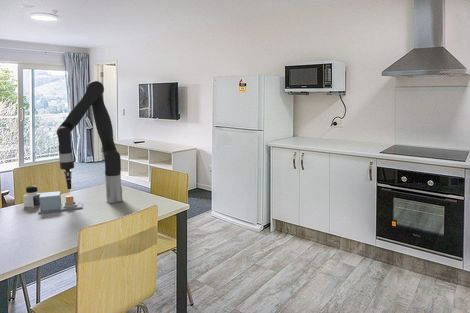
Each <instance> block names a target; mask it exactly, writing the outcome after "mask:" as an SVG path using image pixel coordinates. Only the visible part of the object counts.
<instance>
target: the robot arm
mask: <svg viewBox="0 0 470 313" xmlns="http://www.w3.org/2000/svg"><path fill="white" fill-rule="evenodd" d="M85 90H86V91H85V93H84V94H83V96H82V97H81V99H80V100H79V102H78V103H77V104H76V105H75V106H74V107H73V108H72V109H71V111H70V112H69V113H68V115H67V116H66V117H65V120H64V121H62V123H60V125H59V126H58V128H57V129H56V135H57V140H58V160H59V168H60V170H63V171H64V172H63V173H64V174H63V175H64V178H65V183H66V187H67V188H66V189H67V190H72V179H73V178H72V175H73V172H72V169H75V162H74V160H75V159H74V155H73V147H72V131H73V130H74V128H75V127H77V126H78V124H79V123H80V122H81V120H82V119H83V117H84V116H85V114H86V113H87V111H88V110H89V108H91V107H92V114H93V118H94V119H93V120H94V125H95V129H96V131H97V134H98V137H99V139H100V142H101V146H102V147H101V148H102V153H103V154H102V155H103V159H104V176H105V178H104V179H105V193H106V196H105V197H106V203H108V204H116V203H121V202H123V186H122V178H121V177H122V176H121V175H122V172H121V171H122V162H121V161H122V160H121V159H122V158H121V154H120V153H119V151H118V150H117V147H116V144H115V141H114V130H113V125H112V124H113V123H112V121H111V117H110V113H109V112H108V109H107V107H106V104H105V102H104V97H103V94H104V91H105V87H104V84H103V83H102V82H101V81H98V80H92V81H89V82H88V83H87V84H86V87H85Z"/></svg>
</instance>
